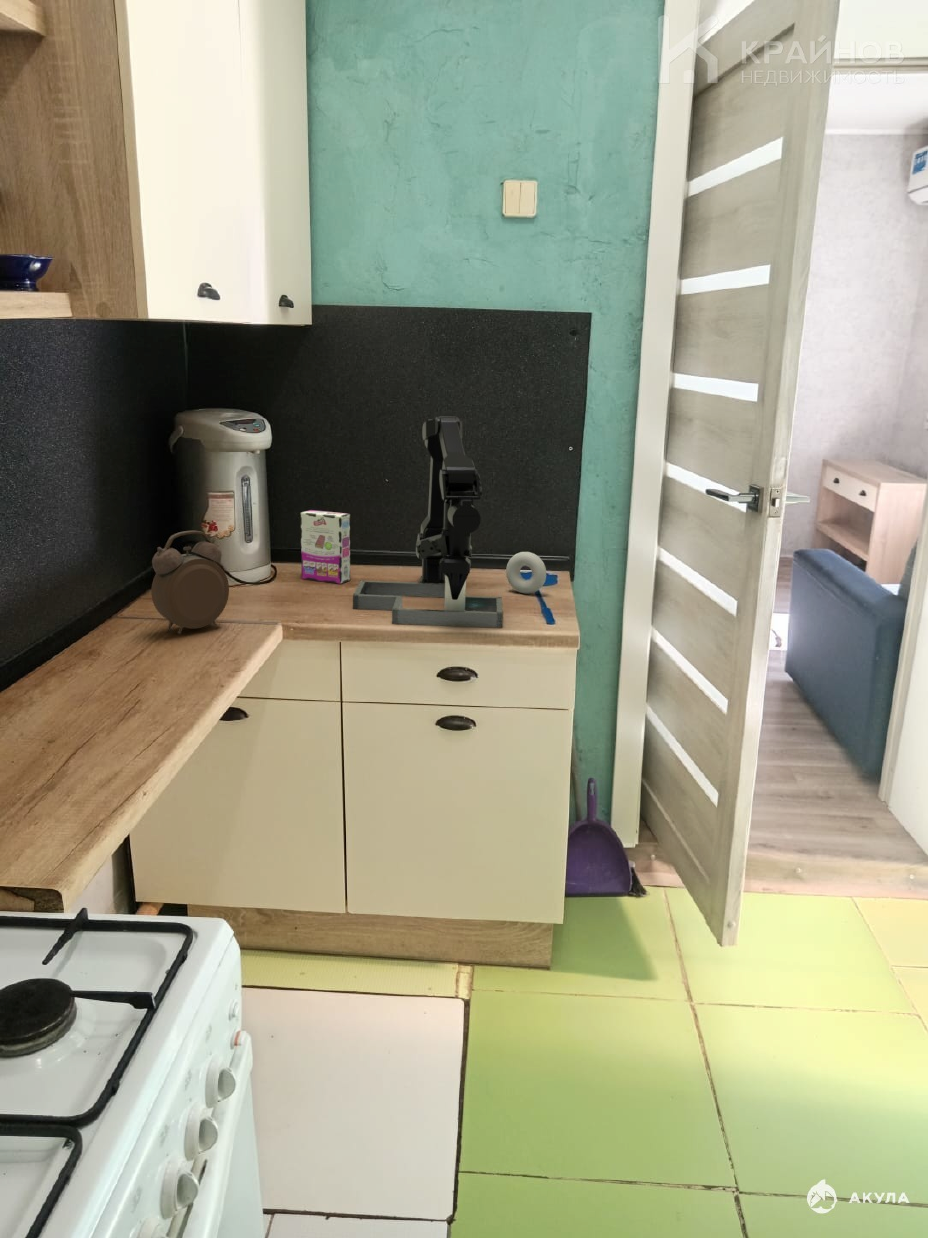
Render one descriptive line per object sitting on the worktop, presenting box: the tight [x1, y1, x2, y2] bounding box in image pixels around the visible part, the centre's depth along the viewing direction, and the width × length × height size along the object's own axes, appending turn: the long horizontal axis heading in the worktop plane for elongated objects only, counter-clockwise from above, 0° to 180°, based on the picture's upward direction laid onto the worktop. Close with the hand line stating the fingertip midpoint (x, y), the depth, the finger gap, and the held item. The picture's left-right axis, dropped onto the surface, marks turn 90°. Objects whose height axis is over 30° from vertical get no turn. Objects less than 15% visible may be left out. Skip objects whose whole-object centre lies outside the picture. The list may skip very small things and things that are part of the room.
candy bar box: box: [300, 509, 351, 585], centre depth 236 cm, size 11×5×16 cm, turn 68°
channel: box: [352, 580, 504, 629], centre depth 215 cm, size 23×32×3 cm
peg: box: [443, 575, 467, 611], centre depth 209 cm, size 4×4×9 cm
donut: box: [505, 551, 547, 595], centre depth 230 cm, size 10×3×10 cm, turn 64°
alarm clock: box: [150, 530, 230, 635], centre depth 193 cm, size 14×7×20 cm, turn 135°
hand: (455, 596), depth 209 cm, fingers closed on peg, 4 cm apart
